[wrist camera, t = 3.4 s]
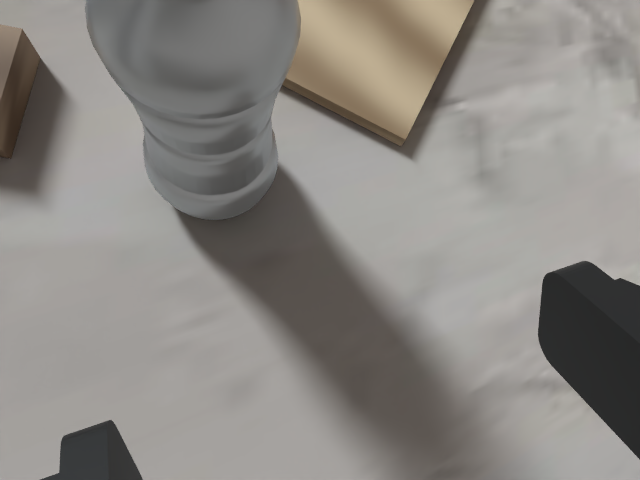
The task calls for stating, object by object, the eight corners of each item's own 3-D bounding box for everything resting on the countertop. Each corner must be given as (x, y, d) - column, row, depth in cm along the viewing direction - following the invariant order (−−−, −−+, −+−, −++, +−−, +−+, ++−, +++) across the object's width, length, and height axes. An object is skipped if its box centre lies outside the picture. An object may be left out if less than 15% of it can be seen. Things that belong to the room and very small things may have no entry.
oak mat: (401, 146, 34) (405, 139, 33) (199, 42, 34) (198, 32, 33) (484, -23, 38) (490, -33, 37) (301, -117, 38) (302, -131, 37)
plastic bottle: (179, 100, 33) (91, -286, 14) (292, 143, 34) (360, -177, 14) (131, 203, 32) (-43, -74, 12) (251, 248, 32) (264, 45, 13)
